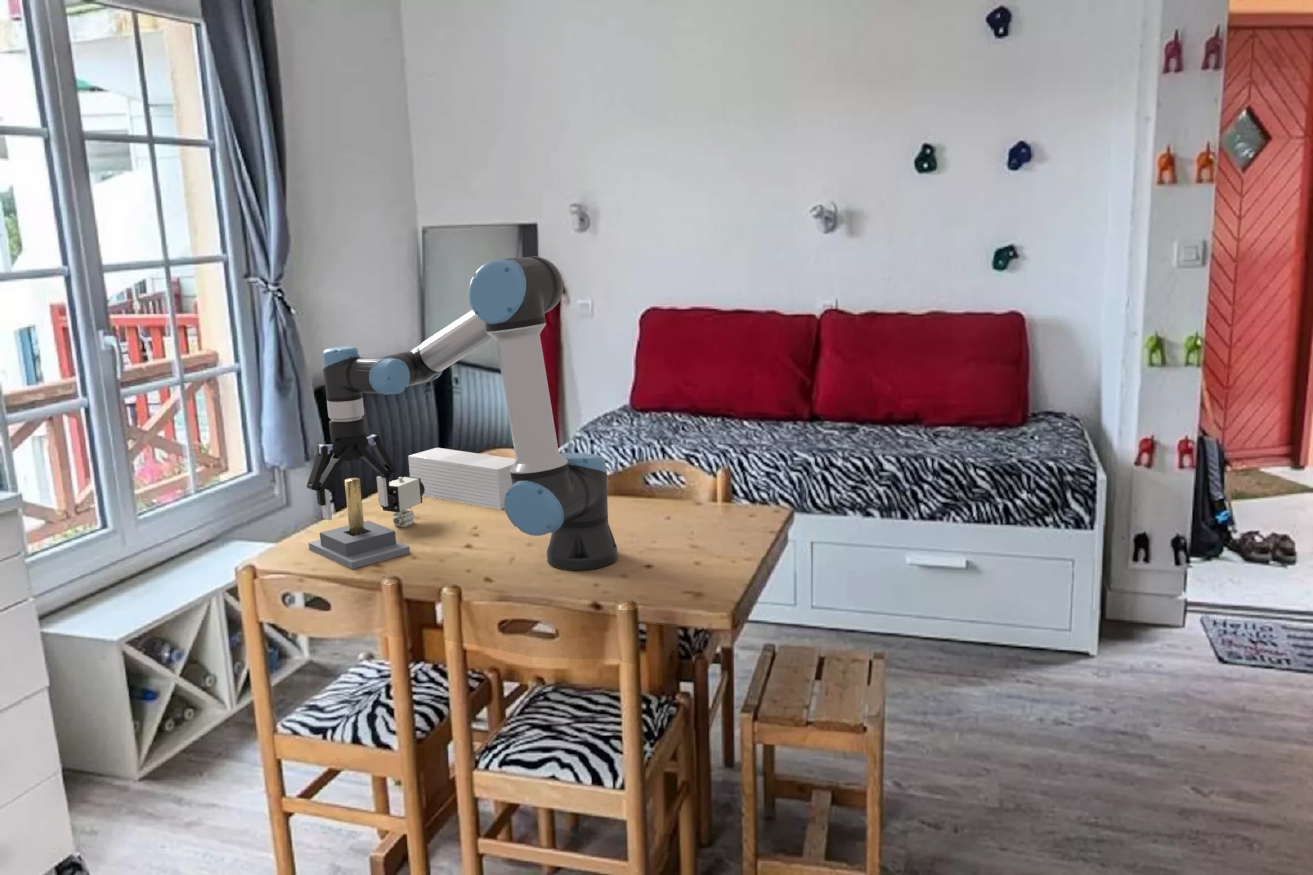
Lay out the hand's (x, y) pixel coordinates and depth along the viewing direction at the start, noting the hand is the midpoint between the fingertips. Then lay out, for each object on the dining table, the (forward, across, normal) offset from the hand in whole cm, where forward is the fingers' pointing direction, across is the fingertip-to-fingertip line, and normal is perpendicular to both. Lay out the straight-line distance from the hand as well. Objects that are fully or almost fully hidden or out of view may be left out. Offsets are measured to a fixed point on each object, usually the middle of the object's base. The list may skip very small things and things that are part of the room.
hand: (356, 512), depth 230 cm
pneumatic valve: (+9, -17, -10) cm, 22 cm away
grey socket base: (+9, 0, 0) cm, 9 cm away
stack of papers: (+10, -42, -20) cm, 47 cm away
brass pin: (+8, 0, 0) cm, 8 cm away
